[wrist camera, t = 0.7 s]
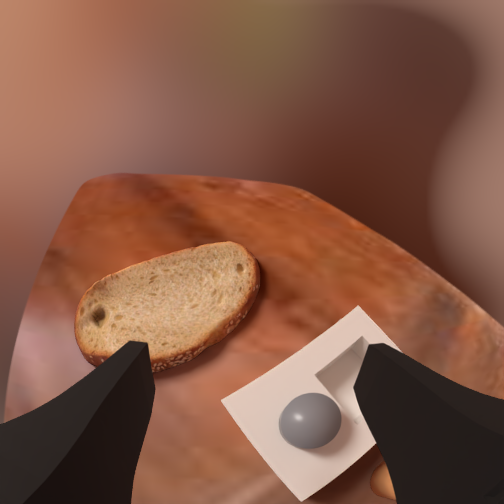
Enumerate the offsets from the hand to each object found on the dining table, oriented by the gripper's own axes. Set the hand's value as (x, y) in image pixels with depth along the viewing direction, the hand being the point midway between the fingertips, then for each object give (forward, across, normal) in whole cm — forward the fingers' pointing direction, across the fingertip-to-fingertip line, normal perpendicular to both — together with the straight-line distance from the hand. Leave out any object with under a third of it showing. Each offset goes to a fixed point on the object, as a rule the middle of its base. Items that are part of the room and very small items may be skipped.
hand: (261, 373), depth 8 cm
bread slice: (+19, +7, +8) cm, 21 cm away
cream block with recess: (+8, -8, +12) cm, 16 cm away
